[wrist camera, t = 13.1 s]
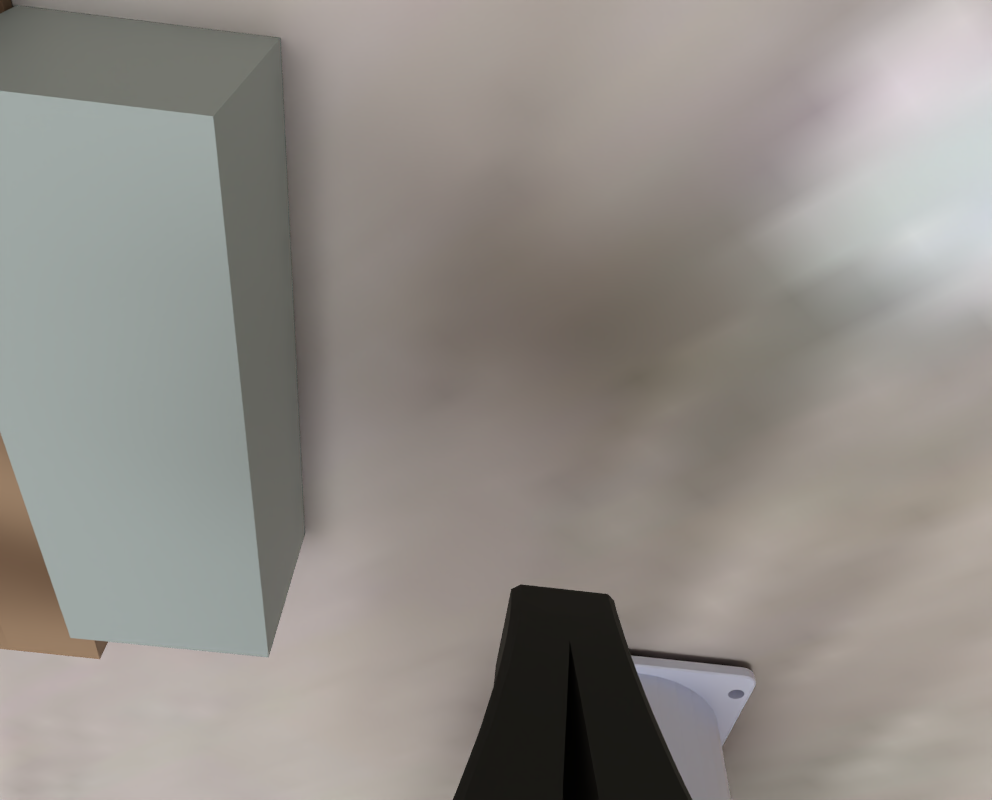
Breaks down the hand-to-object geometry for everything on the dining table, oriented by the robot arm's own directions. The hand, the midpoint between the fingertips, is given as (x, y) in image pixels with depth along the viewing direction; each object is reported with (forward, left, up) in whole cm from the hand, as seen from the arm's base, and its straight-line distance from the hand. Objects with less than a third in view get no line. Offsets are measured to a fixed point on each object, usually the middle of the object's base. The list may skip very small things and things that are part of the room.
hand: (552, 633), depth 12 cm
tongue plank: (-2, +8, -10) cm, 13 cm away
